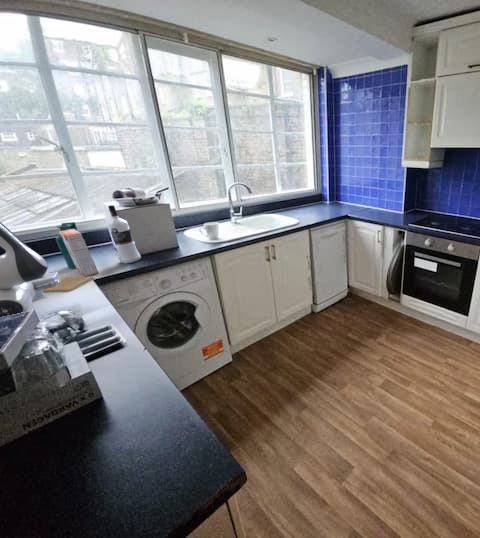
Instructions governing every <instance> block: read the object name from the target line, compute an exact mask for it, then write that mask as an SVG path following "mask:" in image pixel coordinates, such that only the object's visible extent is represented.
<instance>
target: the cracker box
mask: <svg viewBox="0 0 480 538" xmlns="http://www.w3.org/2000/svg"><path fill="white" fill-rule="evenodd" d="M58 233H59V235H61V237H62V239H63V241H64V243H65V245H66V247H67V249H68V251H69V254H70V256H71V258H72V260H73V262H74V264H75V266H76V268H75V269H76V270H77V271H78V273H80V275H82V277H86V276H87V277H90V276H93V274H94V275H97V274H99V271H98V268H97V266H96V263H95V262H94V259H93V257H92V255H91V252H90V250H89V248H88V246H87V244H86V241H85V238H84V236H83V234H82V233H81V232H80V231H78V229H77V230H75V229H70V230H64V231H61V230H60V231H59V232H58ZM89 275H90V276H89Z"/></svg>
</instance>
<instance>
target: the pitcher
mask: <svg viewBox="0 0 480 538" xmlns="http://www.w3.org/2000/svg"><path fill="white" fill-rule="evenodd" d="M77 227H78V226H77V224H76V222H75V221H72V222H62V223H61V224H60V225H57V226H56V229H59V230H60V231H64V230H70V229H75V230H77V231H78V228H77ZM55 242H56V244H57V246H58V248H59V250H60V253H61V255H62V257H63V260H64V261H65V264H66V265H67V268H68V269H70V270H71V269H72V270H73V269H77V268H76V266H75V264H74V262H73V260H72V258H71V256H70V254H69V251H68V249H67V247H66V245H65V243H64V241H63V239H62V237H61V235H60V234H59V235H58V236H56V237H55Z"/></svg>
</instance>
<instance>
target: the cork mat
mask: <svg viewBox="0 0 480 538" xmlns="http://www.w3.org/2000/svg"><path fill="white" fill-rule="evenodd" d="M93 277H94V276H87V277H84V276H74V277H64V278H61V282H60V283H59V284H58V285H57V286H55V287H52V288H48V289H44V290H42V292H43V293H59V292H72V291H73V290H75V289H77V288H79V287H80V285H81V284H83V283H85V282H86V283H88V282H90V281H91V280H90V279H92V278H93ZM89 280H90V281H89ZM92 280H93V279H92ZM87 281H88V282H87ZM86 283H85V284H86ZM83 285H84V284H83ZM78 286H79V287H78ZM81 286H82V285H81ZM76 287H77V288H76ZM74 288H75V289H74ZM72 289H73V290H72Z"/></svg>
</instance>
